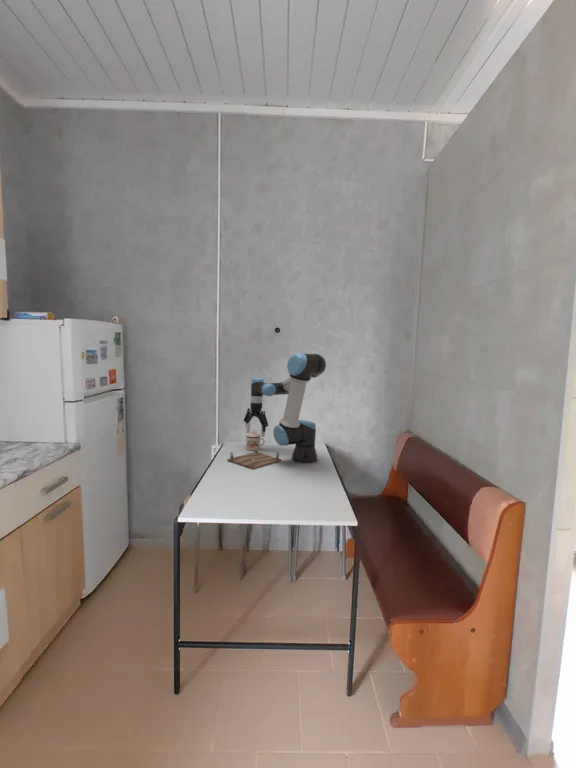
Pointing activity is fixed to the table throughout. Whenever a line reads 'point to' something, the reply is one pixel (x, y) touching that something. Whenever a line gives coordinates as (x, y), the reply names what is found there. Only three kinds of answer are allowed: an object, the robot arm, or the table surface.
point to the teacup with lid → (253, 441)
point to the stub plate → (258, 460)
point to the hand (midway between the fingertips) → (255, 434)
